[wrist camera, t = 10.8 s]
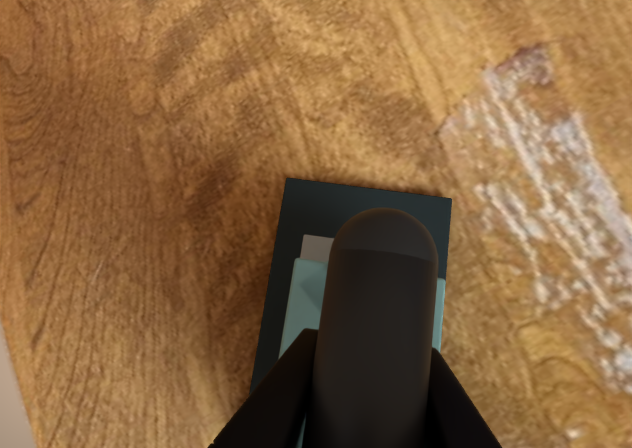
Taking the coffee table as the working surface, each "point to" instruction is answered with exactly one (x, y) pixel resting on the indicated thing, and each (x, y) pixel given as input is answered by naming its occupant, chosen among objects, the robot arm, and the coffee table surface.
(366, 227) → the pale blue handled block
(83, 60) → the coffee table surface
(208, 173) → the coffee table surface
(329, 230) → the iron pad
